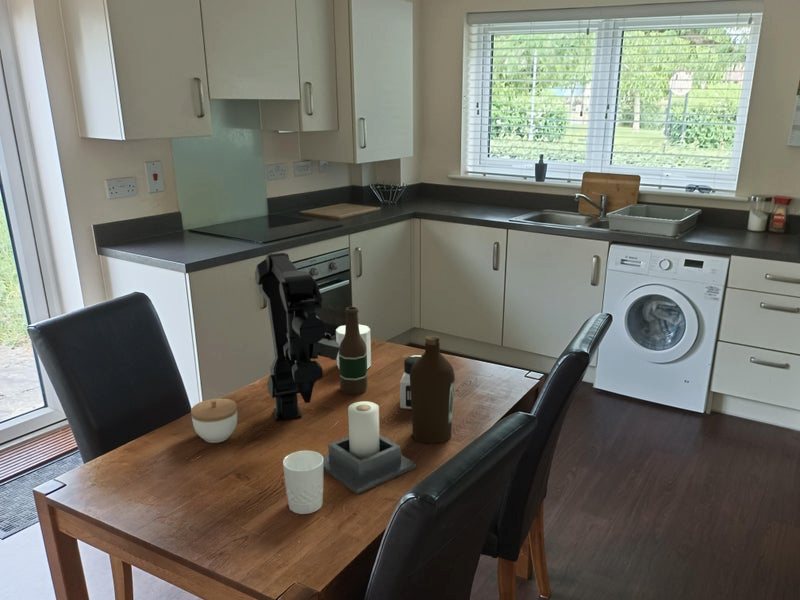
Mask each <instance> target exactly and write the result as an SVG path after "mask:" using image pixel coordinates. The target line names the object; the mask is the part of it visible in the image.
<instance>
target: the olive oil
mask: <svg viewBox="0 0 800 600" xmlns="http://www.w3.org/2000/svg"><path fill="white" fill-rule="evenodd" d="M440 345H441V343H440V337H439V336H437V335H427V336H425V343H424V346H425V347H424V348H425V349H424V353H423V354H422V355H420V356H421V357H420V358H419V359H418V360H417V361H416V362H415V363H414V364H413V366H412V368H411V372H410V390H411V408H412V409H411V423H412V424H411V426H412V428H411V429H412V432H411V433H412V436H413V438H414V439H415V440H417V441H419V443H423V444H430V445H431V444H435V445H436V444H441V443H445V442H446V441H448V440H449V439H450V438H451V437H452V428H453V427H452V426H453V425H452V424H453V409H454V407H453V406H454V395H455V393H454V392H455V383H456V382H455V381H456V377H455V375H456V374H455V371H454V368H453V366H452V364H451V362H449V361H448V359H446V358H445V357H444V355H443V354H442V353H441V352H440Z"/></svg>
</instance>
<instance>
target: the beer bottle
mask: <svg viewBox="0 0 800 600" xmlns="http://www.w3.org/2000/svg"><path fill="white" fill-rule="evenodd" d="M344 313H345V325H346V329H345V337H344V339H343V340H342V342H341V344H340V349H339V368H338V370H339V386H340V391H341V392H342V393H344V394H345V395H352V396H353V395H354V396H355V395H361V394H364V393H365V392H366V390H367V388H368V370H367V349H366V344H365V342H364V340H363V339H362V337H361V336H360V332H359V324H360V323H359V314H358V313H359V309H358V307H356V306H350V307H349V306H347V307H346V308H345V310H344Z"/></svg>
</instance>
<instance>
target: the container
mask: <svg viewBox="0 0 800 600" xmlns="http://www.w3.org/2000/svg"><path fill="white" fill-rule="evenodd" d="M421 356H422V355H420V354H419V355H417V354H416V355H409V356H408V357H406V358H404V362H403V363H404V366H403V367H404V368H403V369H404V373H403V375H402V377H401V379H400V381H399V408H400V409H407V410H412V408H411V390H410V372H411V368H412V366H413V364H414V363H415V362H416V361H417V360H418V359H419V358H420V357H421Z"/></svg>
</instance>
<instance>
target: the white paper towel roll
mask: <svg viewBox="0 0 800 600" xmlns="http://www.w3.org/2000/svg"><path fill="white" fill-rule="evenodd" d="M347 409H348V410H347V411H348V414H347V416H348V436H349V448H350V454H352V455H353V456H355V457H356V458H358V459H359V460H362V459H364V458H367V457H369V456H372V455H374V454H376V453H379V452H380V447H379V434H380V406H379V405H378V404H377V403H375V402H372V401H367V400H366V401H357V402H354V403H351V404H350V405H349V406H348V407H347Z"/></svg>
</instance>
